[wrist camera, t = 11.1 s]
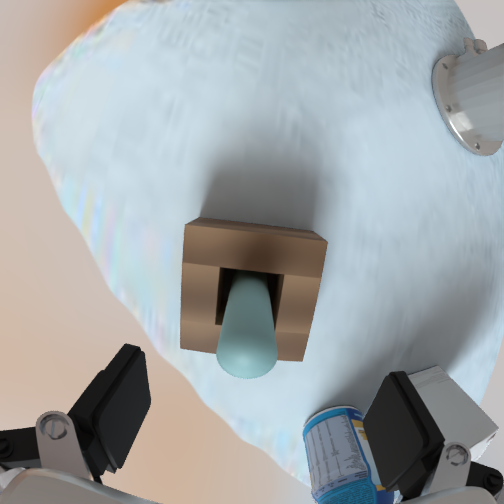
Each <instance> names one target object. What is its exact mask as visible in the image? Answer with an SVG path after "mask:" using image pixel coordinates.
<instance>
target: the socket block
mask: <svg viewBox="0 0 504 504" xmlns="http://www.w3.org/2000/svg"><path fill="white" fill-rule="evenodd" d="M327 244H328V242H327V241H326V240H325V239H323V238H322V237H321V236H319V235H318V234H316V233H315V232H314V231H308V230H301V229H293V228H285V227H277V226H269V225H261V224H253V223H244V222H235V221H226V220H217V219H208V218H197V219H195V220H193V221H191V222H189V223H187V224H185V230H184V244H183V261H182V282H181V318H180V348H181V349H187V350H193V351H200V352H206V353H214V354H216V351H217V346H218V342H219V337H220V333H221V328H222V324H223V319H224V315H225V311H226V306H227V302H228V298H229V293H230V289H231V285H232V280H233V276H234V273H235V271H236V270H237V269H241V270H249V271H258V272H265V273H266V277H267V283H268V290H269V296H270V303H271V310H272V317H273V324H274V330H275V337H276V344H277V351H278V357H277V360H283V361H301V362H302V361H303V357H304V353H305V349H306V345H307V341H308V337H309V333H310V329H311V324H312V320H313V315H314V311H315V306H316V302H317V297H318V292H319V287H320V282H321V277H322V272H323V266H324V261H325V255H326V249H327Z"/></svg>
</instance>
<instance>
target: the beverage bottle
mask: <svg viewBox="0 0 504 504" xmlns="http://www.w3.org/2000/svg"><path fill="white" fill-rule="evenodd" d="M363 420H364V417H363V414H362V413H361V412H360V411H359V410H358V409H356V408H354V407H351V406H337V407H332V408H328V409H326V410H323V411H321V412H319V413H317V414H316V415H314V416H313V417H312V418H311V419H309V420H308V422H307V423H306V424H305V426H304V428H303V439H304V442H305V448H306V454H307V460H308V466H309V472H310V478H311V485H312V491H311V494H312V498H313V501H314V502H315V503H316V504H393V502H394V491H393V492H389V493H387V492H386V489H385V488H384V487H382V485H381V482H380V479H379V476H378V472H377V469H376V466H375V462H374V459H373V456H372V453H371V450H370V447H369V444H368V440H367V437H366V434H365V431H364V428H363Z"/></svg>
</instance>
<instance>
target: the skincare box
mask: <svg viewBox="0 0 504 504" xmlns="http://www.w3.org/2000/svg"><path fill="white" fill-rule="evenodd" d="M408 377H409V379H410V380H411V382H412V384H413V385H414V387H415V388H416V390H417V392H418V393H419V395H420V397H421V398H422V400H423V402H424V403H425V405H426V407H427V408H428V410H429V412H430V413H431V415H432V417H433V418H434V420H435V422H436V424H437V425H438V427H439V429H440V431H441V433H442V434H443V436H444V438H445V442H444V445H445V446H446V445H447V444H448V443H450V442H460V443H462V444H464V445H465V446H467V447H468V449H469V450H470V452H471V461H473V462H474V461H476V460H477V459H479V458H480V456H481V455H482V454H483V452H484V451H485V449H486V448H487V446H488V445H489V443H490V442H491V440H492V439H493V437H494V435H495V434H496V432H497V431H498V429H499V428H498V426H497V425H496V424H495V423H494V422H493V421H492V420H491V419H490V418H489V417H488V416H487V415H486V414H485V412H484V411H483V410H482V409H481V408H480V407H479V406H478V405H477V404H476V403H475V402H474V401H473V400H472V399H471V398H470V397H469V396H468V395H467V394H466V393H465V392H464V391H463V390H462V389H461V388H460V387H459V386H458V384H457V383H456V382H454V380H453V379H451V378H450V376H449V375H447V374H446V373H445V372H444V371H443V370H442V369H441V368H440V367H439V366H435V367H432V368H429V369H426V370H423V371H420V372H417V373H414V374H411V375H408Z"/></svg>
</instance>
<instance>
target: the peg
mask: <svg viewBox="0 0 504 504" xmlns="http://www.w3.org/2000/svg"><path fill="white" fill-rule="evenodd" d="M216 356H217V360H218V363H219V365H220V366H221V367H222V369H223V370H225V371H226V372H227V373H229V374H230V375H232V376H235V377H238V378H243V379H252V378H257V377H260V376H263V375H265V374H266V373H268V372H269V371H270V370H271V369H272V368H273V367H274V365H275V364H276V361H277V357H278V351H277V344H276V337H275V330H274V324H273V317H272V310H271V303H270V296H269V290H268V283H267V277H266V273H265V272H258V271H249V270H241V269H237V270H236V271H235V273H234V276H233V280H232V285H231V289H230V293H229V298H228V302H227V306H226V311H225V315H224V319H223V324H222V328H221V333H220V337H219V342H218V346H217V351H216Z"/></svg>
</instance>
